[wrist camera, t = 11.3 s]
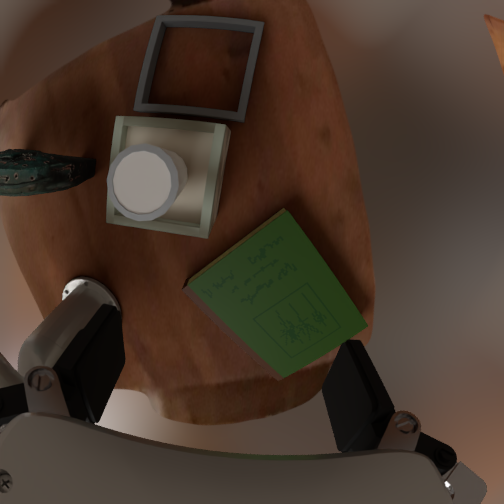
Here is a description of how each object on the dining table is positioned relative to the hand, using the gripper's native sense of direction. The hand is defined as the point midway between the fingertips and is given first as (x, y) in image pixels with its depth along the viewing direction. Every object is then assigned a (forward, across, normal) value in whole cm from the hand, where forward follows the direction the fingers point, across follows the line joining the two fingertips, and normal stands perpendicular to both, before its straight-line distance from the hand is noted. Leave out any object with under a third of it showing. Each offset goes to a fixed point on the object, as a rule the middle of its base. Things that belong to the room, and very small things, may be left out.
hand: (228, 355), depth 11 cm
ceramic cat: (+31, +32, -3) cm, 44 cm away
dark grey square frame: (+30, +9, -19) cm, 37 cm away
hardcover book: (+31, -9, +14) cm, 35 cm away
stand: (+30, +9, -4) cm, 32 cm away
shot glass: (+22, +9, -4) cm, 24 cm away
